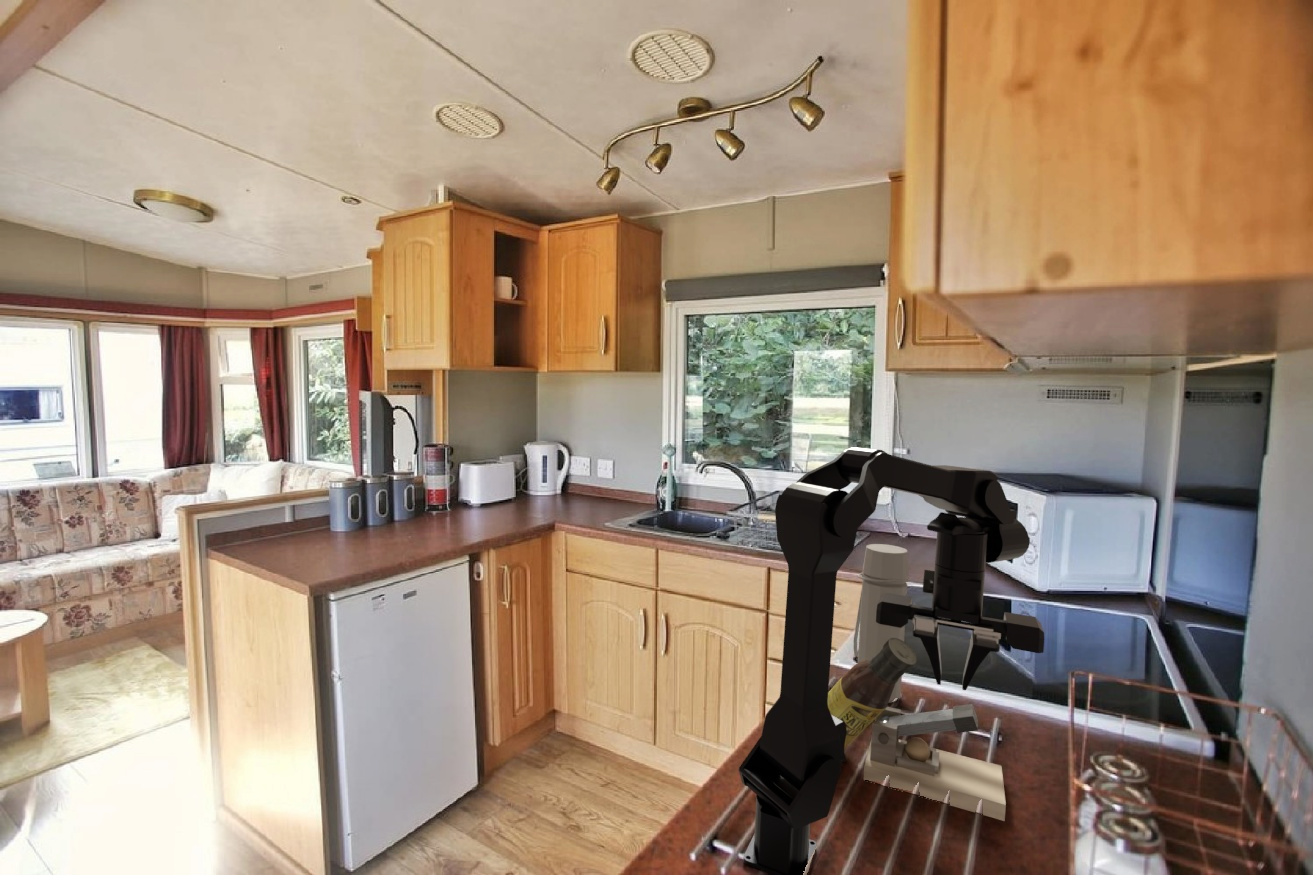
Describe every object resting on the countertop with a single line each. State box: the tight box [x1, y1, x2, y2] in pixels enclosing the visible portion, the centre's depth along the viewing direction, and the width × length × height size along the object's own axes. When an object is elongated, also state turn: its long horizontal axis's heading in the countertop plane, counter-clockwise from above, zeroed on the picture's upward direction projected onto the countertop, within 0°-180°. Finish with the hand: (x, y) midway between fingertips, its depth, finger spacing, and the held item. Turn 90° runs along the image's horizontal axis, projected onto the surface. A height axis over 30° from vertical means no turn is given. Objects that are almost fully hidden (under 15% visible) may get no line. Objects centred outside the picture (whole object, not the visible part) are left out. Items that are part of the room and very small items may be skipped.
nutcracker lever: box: [880, 703, 979, 737], centre depth 81 cm, size 4×12×2 cm, turn 64°
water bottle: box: [853, 543, 910, 704], centre depth 104 cm, size 9×8×25 cm
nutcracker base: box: [863, 706, 1007, 822], centre depth 81 cm, size 9×16×7 cm, turn 64°
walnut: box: [905, 736, 930, 762], centre depth 81 cm, size 3×3×3 cm
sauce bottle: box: [828, 638, 917, 751], centre depth 82 cm, size 6×6×20 cm
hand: (951, 686), depth 79 cm, fingers open, 3 cm apart
